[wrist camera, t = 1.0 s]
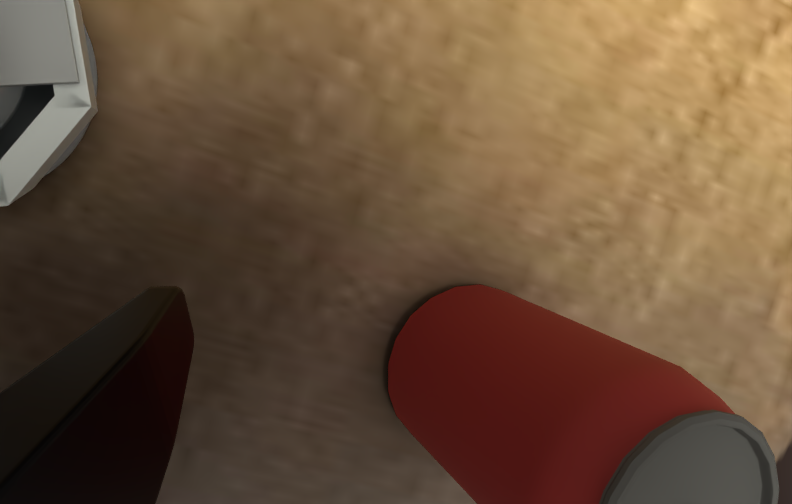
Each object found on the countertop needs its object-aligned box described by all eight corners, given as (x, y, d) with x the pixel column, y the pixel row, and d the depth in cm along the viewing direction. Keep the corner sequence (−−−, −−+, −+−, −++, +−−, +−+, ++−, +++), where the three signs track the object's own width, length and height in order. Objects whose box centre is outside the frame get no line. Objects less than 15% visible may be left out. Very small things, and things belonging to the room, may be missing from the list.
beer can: (352, 413, 25) (531, 635, 14) (426, 254, 25) (662, 353, 14) (487, 458, 28) (724, 674, 17) (553, 315, 28) (833, 437, 17)
